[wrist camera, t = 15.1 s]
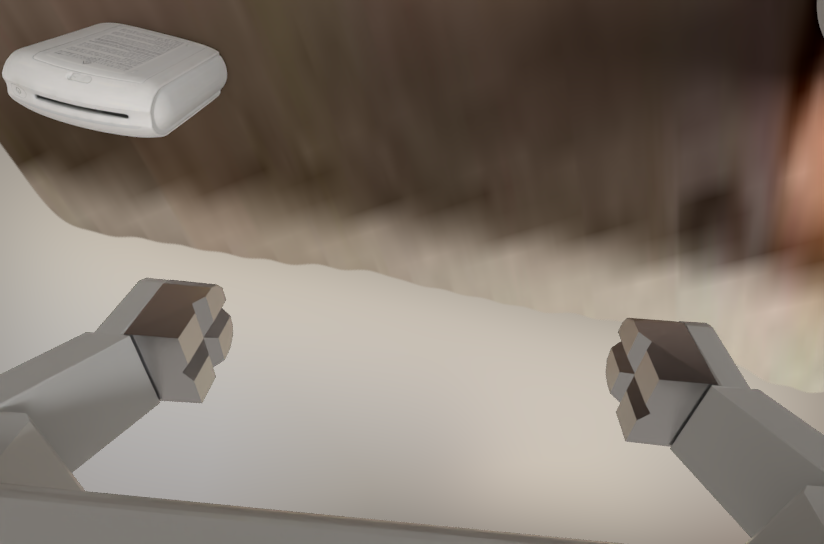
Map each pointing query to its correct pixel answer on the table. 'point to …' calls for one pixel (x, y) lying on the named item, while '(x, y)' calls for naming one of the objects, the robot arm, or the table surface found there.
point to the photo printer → (116, 79)
